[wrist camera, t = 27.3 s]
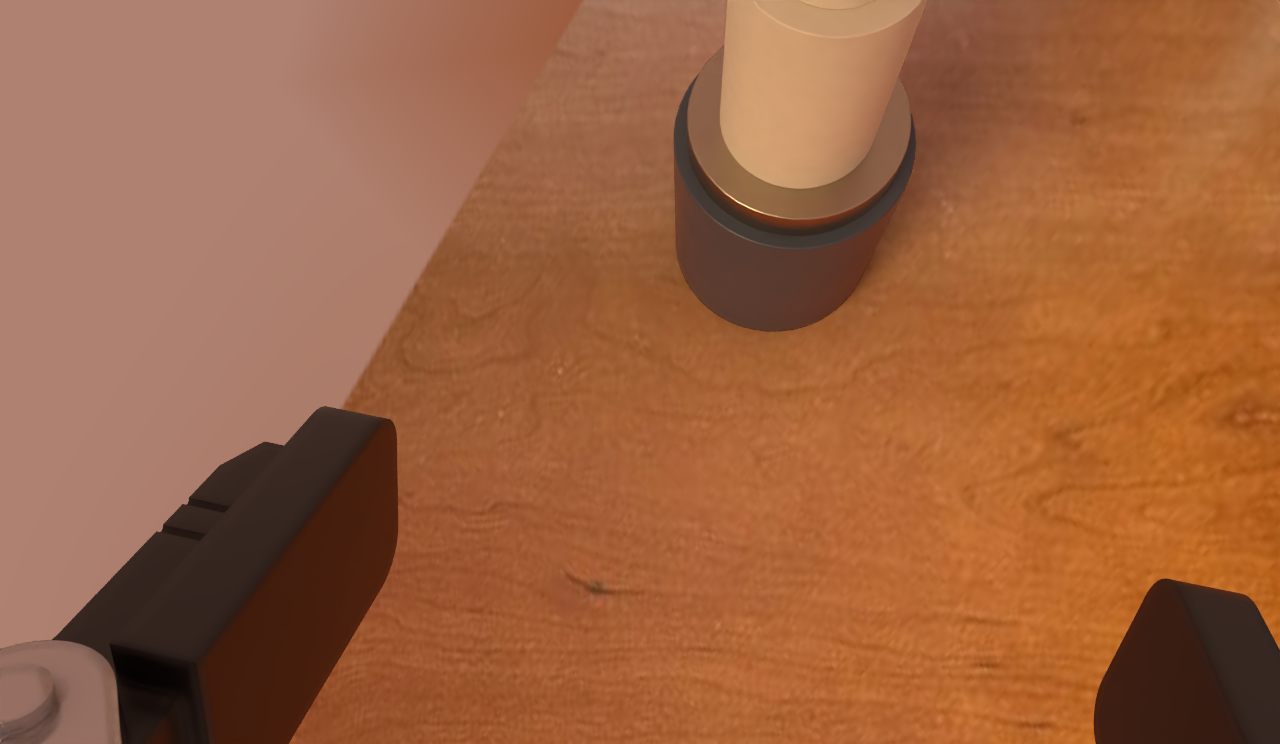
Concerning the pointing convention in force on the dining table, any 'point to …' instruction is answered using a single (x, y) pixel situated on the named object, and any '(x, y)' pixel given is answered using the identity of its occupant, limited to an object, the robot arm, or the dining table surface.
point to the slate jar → (778, 217)
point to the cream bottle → (810, 83)
